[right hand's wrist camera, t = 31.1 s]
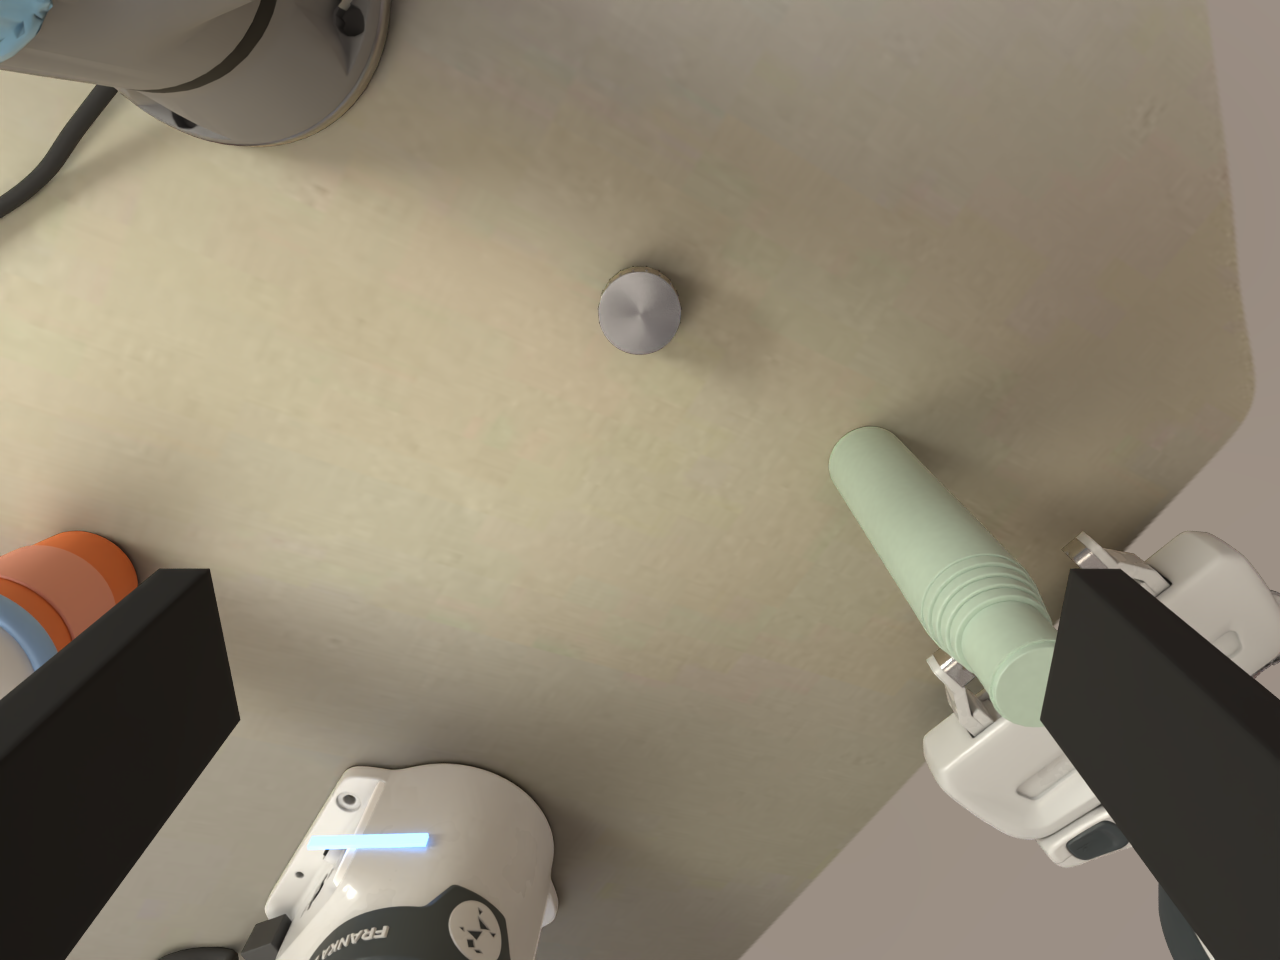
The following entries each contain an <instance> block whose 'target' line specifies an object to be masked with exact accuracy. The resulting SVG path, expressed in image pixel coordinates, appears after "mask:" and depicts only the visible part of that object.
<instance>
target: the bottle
mask: <svg viewBox="0 0 1280 960" xmlns="http://www.w3.org/2000/svg"><path fill="white" fill-rule="evenodd" d="M829 473H830V477H831V479H832V481H833V483H834V485H835V486H836V488H837V489H838V491H839V493H840V494H841V496H842V497H843V499H844V501H845V502H846V504H847V505H848V507H849V509H850V510H851V512H852V513H853V515H854V517H855V518H856V520H857V521H858V523H859V525H860V526H861V528H862V529H863V531H864V533H865V534H866V536H867V538H868V539H869V541H870V542H871V544H872V546H873V547H874V549H875V550H876V552H877V554H878V555H879V557H880V558H881V560H882V562H883V563H884V565H885V566H886V568H887V570H888V571H889V573H890V574H891V576H892V578H893V579H894V581H895V582H896V584H897V586H898V587H899V589H900V590H901V592H902V594H903V595H904V597H905V598H906V600H907V602H908V603H909V605H910V606H911V608H912V610H913V611H914V613H915V614H916V616H917V618H918V619H919V621H920V622H921V624H922V626H923V627H924V629H925V630H926V632H927V634H928V635H929V636H930V637H931V639H933V640H934V641H935V643H936V644H937V645H938V646H939V647H940V648H941V649H942V650H943V651H945V652H946V653H948V654H949V655H950V656H951V657H952V658H954V659H955V660H956V661H957V662H958V663H960V664H961V665H963V666H964V667H965V668H966V669H967V670H968V671H970V672H971V673H973V674H975V675H976V676H977V678H978V679H979V681H980V682H981V684H982V685H983V687H984V688H985V690H986V691H987V693H988V694H989V697H990V699H991V702H992V704H993V706H994V708H995V709H996V710H997V712H998V713H999V714H1000V715H1001V716H1002V717H1003V718H1005V719H1007V720H1008V721H1010V722H1012V723H1014V724H1018V725H1021V726H1024V727H1045V726H1044V725H1043V724H1042V722H1041V721H1040V716H1041V711H1042V706H1043V701H1044V696H1045V691H1046V686H1047V681H1048V676H1049V671H1050V666H1051V662H1052V657H1053V652H1054V647H1055V642H1056V637H1057V632H1058V631H1057V630H1056V629H1055V628H1054V627H1053V626H1052V621H1051V618H1050V616H1049V614H1048V612H1047V609H1046V607H1045V605H1044V603H1043V601H1042V598H1041V596H1040V594H1039V591H1038V588H1037V586H1036V584H1035V583H1034V581H1033V580H1032V578H1031V577H1030V575H1029V574H1028V572H1027V571H1026V570H1025V569H1024V568H1023V567H1022V566H1021V565H1020V563H1019V562H1018V561H1017V560H1016V559H1015V558H1014V557H1013V556H1012V555H1011V554H1010V553H1009V552H1008V551H1007V550H1006V549H1005V548H1004V547H1003V546H1002V545H1001V544H1000V543H999V542H998V541H997V540H996V539H995V538H994V537H993V536H992V535H991V534H990V533H989V532H988V531H987V530H986V528H985V527H984V526H983V525H982V524H981V523H980V522H979V521H978V520H977V519H976V518H975V517H974V516H973V515H972V514H971V513H970V512H969V511H968V510H967V509H966V508H965V507H964V506H963V505H962V504H961V503H960V502H959V501H958V500H957V499H956V498H955V497H954V496H953V495H952V493H951V492H950V491H949V490H948V489H947V488H946V487H945V486H944V485H943V484H942V483H941V482H940V481H939V480H938V479H937V478H936V477H935V476H934V475H933V474H932V473H931V472H930V471H929V470H928V469H927V468H926V467H925V466H924V465H923V464H922V463H921V462H920V461H919V460H918V458H917V457H916V456H915V455H914V454H913V453H912V452H911V451H910V450H909V449H908V448H907V447H906V446H905V445H904V444H903V443H902V442H901V441H900V440H899V439H898V438H897V437H896V436H895V435H894V434H893V433H891V432H890V431H888V430H886V429H883V428H879V427H862V428H858V429H855V430H853V431H851V432H849V433H847V434H846V435H845V436H843V437H842V438H841V439H840V440H839V441H838V442H837V444H836V445H835V447H834V448H833V450H832V452H831V455H830V459H829Z"/></svg>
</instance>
